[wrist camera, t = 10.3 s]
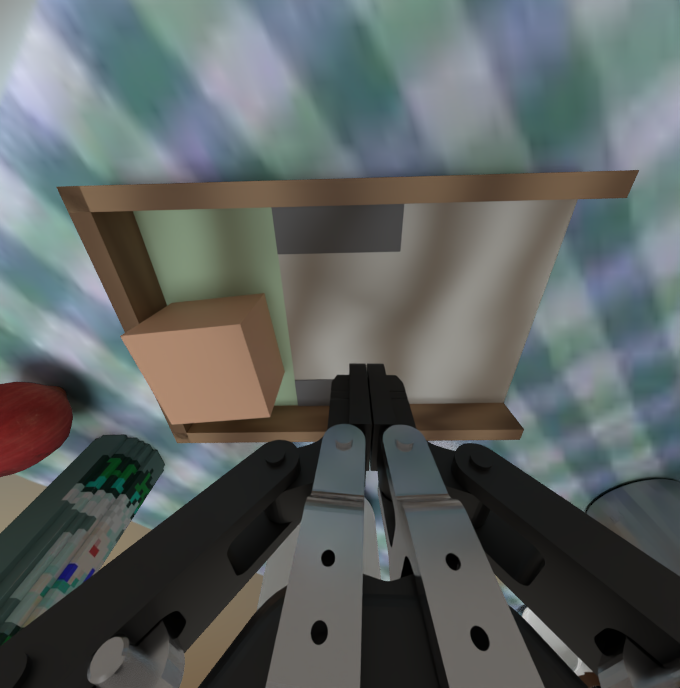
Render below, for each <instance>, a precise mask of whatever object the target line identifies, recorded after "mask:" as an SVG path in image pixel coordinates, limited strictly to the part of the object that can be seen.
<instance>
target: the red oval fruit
mask: <svg viewBox="0 0 680 688" xmlns="http://www.w3.org/2000/svg"><path fill="white" fill-rule="evenodd" d="M72 420H73V414H72V408H71V406H70V403H69V401H68V399H67V394H66V391H65V390H64V389H62V388H61V387H58V386H47V385H41V384H36V383H29V382H12V383H5V384H0V477H3V476H7V475H11V474H14V473H17V472H20V471H23V470H25V469H27V468H29V467H31V466H33V465H35V464H37V463H38V462H40V461H41V460H43V459H44V458H46V457H47V456H49V455H50V454H51V453H53V452H54V451H55V450H56V449H58V448H59V447H60V446H61V445H62V444H63V443H64V441H65V440H66V439H67V437H68V436H69V433H70V429H71V426H72Z"/></svg>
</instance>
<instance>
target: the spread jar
mask: <svg viewBox="0 0 680 688" xmlns="http://www.w3.org/2000/svg"><path fill="white" fill-rule="evenodd" d="M522 617H523V618H524V619H525V620H526V621H527V622H528V623H529V624H530V625H531V626H532V627H533V628H534V630H535V631H536V632H537V633H538V634H539V635H540V636H541V637H542V638H543V639H544V640H545V641H546V642H547V643H548V645H549V646H550V647H551V648H552V649H553V650H554V651H555V652H556V653H557V654H558V655H559V656H560V657H561V658H562V660H563V661H564V662H565V663H566V664H567V665H568V666H569V667H570V668H571V669H572V670H573V671H574V672H575V673H576V675H577V676H578V677H579V678H580V679H581V680H582V681H583V682H584V683H585V684H586V685H587V686H588V687H589V688H601V685H600V682H599V677H598V676H597V675H596V674H595V673H594V672H593V671H592V670H591V669H590V668H589V667H588V666H587V665H586V664H585V663H584V662H583V661H582V660H581V659H580V658H578V657H577V656H576V655H575V654H574V653H573V652H572V651H571V650H570V649H569V648H568V647H567V646H566V645H565V644H564V643H563V642H562V641H561V640H560V639H559V638H558V637H557V636H556V635H555V634H554V633H553V632H552V631H551V630H550V629H549V628H548V627H547V626H546V625H545V624H544V623H543V622H542V621H541V620H540V619H539V618H538V617H537V616H536V615H535V614H534V613H533V612H532V611H531V610H530V609H529V608H528V607H527V608H526V609H525V610H524V612H523V614H522Z"/></svg>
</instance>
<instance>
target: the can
mask: <svg viewBox="0 0 680 688" xmlns="http://www.w3.org/2000/svg"><path fill="white" fill-rule="evenodd" d="M164 465H165V464H164V462H163V460H162V459H161V457H160V455H159V453H158V451H157V450H152V448H151V447H150V445H149V444H144V442H143V441H138V439H137V438H127V436H126V435H103V436H102V437H101V438H100V439H95V440H94V441H93V442H92V443H91V444H90V445H89V446H88V447H87V448H86V449H85V450H84V451H83V452H82V453H81V454H80V455H79V456H78V457H77V458H76V459H75V460H74V461H73V462H72V463H71V464H70V465H69V466H68V467H67V468H66V469H65V470H64V471H63V472H62V473H61V474H60V475H59V476H58V477H57V478H56V479H55V480H54V481H53V482H52V483H51V484H50V485H49V486H48V487H47V488H46V489H45V490H44V491H43V492H42V493H41V494H40V495H39V496H38V497H37V498H36V499H35V500H34V501H33V502H32V503H31V504H30V505H29V506H28V507H27V508H26V509H25V510H24V511H23V512H22V513H21V514H20V515H19V516H18V517H17V518H16V519H15V520H14V521H13V522H12V523H11V524H10V525H9V526H8V527H7V528H6V529H5V530H4V531H2V532H1V533H0V646H1V645H2V644H4V643H5V642H6V641H7V640H9V639H10V638H11V637H13V636H14V635H15V634H17V633H18V632H19V631H20V630H22V629H23V628H24V627H26V626H27V625H28V624H30V623H31V622H32V621H34V620H35V619H36V618H37V617H39V616H40V615H41V614H43V613H44V612H45V611H47V610H48V609H49V608H51V607H52V606H53V605H54V604H56V603H57V602H58V601H60V600H61V599H62V598H64V597H65V596H66V595H68V594H69V593H70V592H72V591H73V590H74V589H75V588H77V587H78V586H79V585H81V584H82V583H83V582H85V581H86V580H87V579H89V578H90V577H91V576H92V575H94V574H95V573H96V572H98V571H99V569H100V568H101V566H102V565H103V563H104V562H105V560H106V559H107V557H108V556H109V554H110V552H111V551H112V549H113V548H114V546H115V544H116V543H117V542H118V540H119V539H120V537H121V535H122V534H123V532H124V530H125V529H126V528H127V526H128V525H129V523H130V522H131V520H132V519H133V517H134V515H135V514H136V512H137V511H138V509H139V508H140V506H141V505H142V503H143V502H144V500H145V498H146V497H147V495H148V494H149V492H150V491H151V489H152V488H153V486H154V485H155V483H156V481H157V480H158V478H159V477H160V475H161V474H162V472H163V471H164V470H163V467H164Z"/></svg>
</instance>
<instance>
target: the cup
mask: <svg viewBox="0 0 680 688" xmlns="http://www.w3.org/2000/svg"><path fill="white" fill-rule="evenodd" d="M300 525H301V522H300V524H299V525H298V526H297V527H296V528H295V529H294V530H293V532H292V533H291V534H290V535H289V536H288V537H287V538H286V539H285V541H284V542H283V543H282V544H281V545H280V546H279V547H278V548H277V550H276V551H275V552H274V553H273V554H272V555H271V556H270V557H269V559H268V560H267V563H266V568H265V573H264V578H263V583H262V587H261V592H260V597H259V602H258V607H257V610H258V609H259V608H260V607H261V606H262V605H263V604H264V603H265V602H266V601H267V600H268V599H269V598H270V597H271V596H272V595H274V594H275V593H276V592H277V591H279V590H280V589H282V588H283V587H285V586H287V585H288V581H289V576H290V571H291V567H292V562H293V557H294V553H295V548H296V543H297V539H298V534H299V530H300ZM363 574H366V575H369V576H372V577H374V578H377V579H380V580H381V575H380V565H379V555H378V545H377V535H376V524H375V515H374V512H373V509H372V507H371V505H370V503H369V502H368V500H367V499H366V498H365V497H364V541H363Z"/></svg>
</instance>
